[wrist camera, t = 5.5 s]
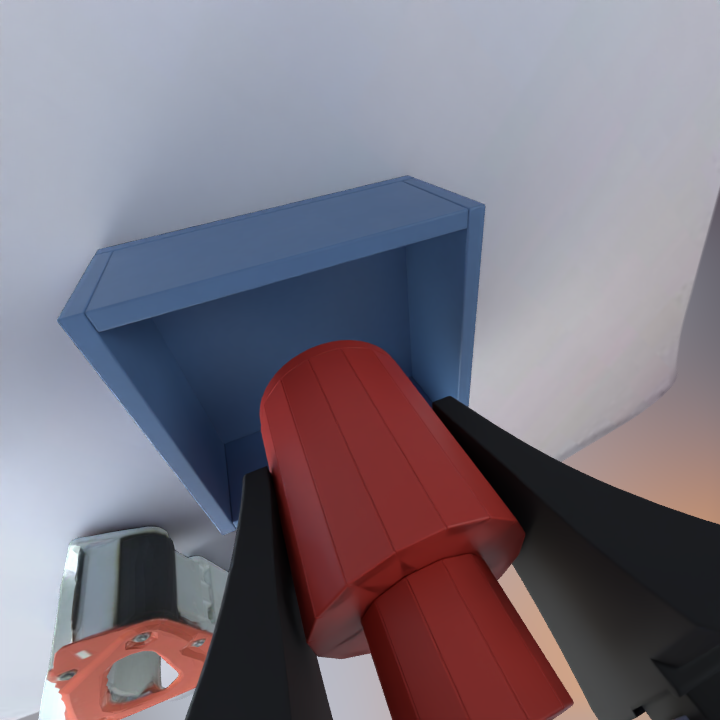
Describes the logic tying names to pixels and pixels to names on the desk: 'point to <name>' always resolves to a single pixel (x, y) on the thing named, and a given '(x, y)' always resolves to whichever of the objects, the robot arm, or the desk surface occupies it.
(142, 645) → the tape dispenser
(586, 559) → the robot arm
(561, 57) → the desk surface
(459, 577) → the bottle
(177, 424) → the tub
